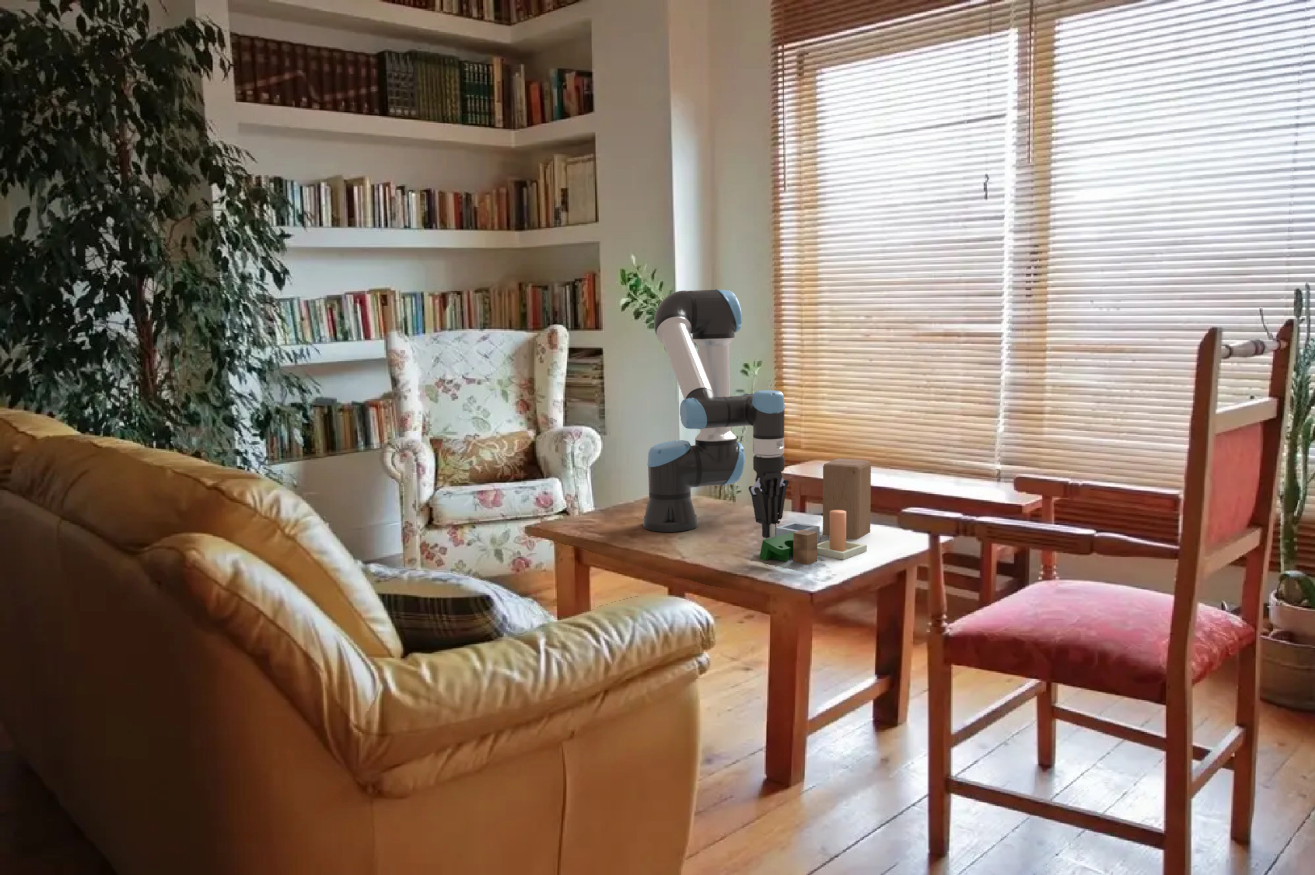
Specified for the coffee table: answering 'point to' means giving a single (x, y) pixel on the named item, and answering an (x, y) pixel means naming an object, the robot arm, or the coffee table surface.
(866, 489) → the wooden block
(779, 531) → the socket
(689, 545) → the coffee table surface
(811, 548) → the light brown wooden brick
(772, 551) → the clamp
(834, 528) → the peach rounded rod
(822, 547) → the tray
